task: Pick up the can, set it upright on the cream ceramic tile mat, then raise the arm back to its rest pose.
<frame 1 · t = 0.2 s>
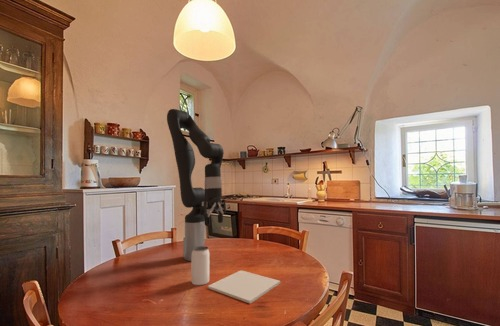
hand: (214, 224, 108), 17 cm above the table, tool pointing down, fingers open, 8 cm apart
tile mat: (244, 285, 86), on the table
can: (200, 282, 89), on the table
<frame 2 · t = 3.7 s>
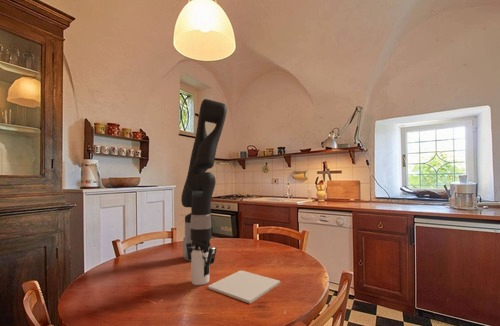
hand: (200, 273, 89), 3 cm above the table, tool pointing down, fingers closed on can, 4 cm apart
can: (200, 282, 89), on the table, touching gripper
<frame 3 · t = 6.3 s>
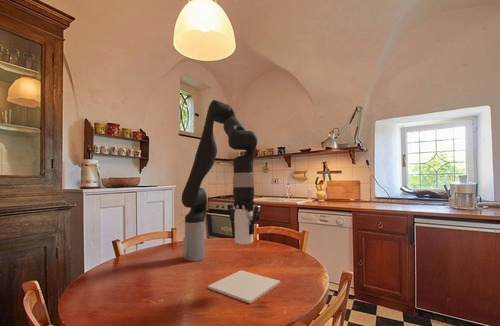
hand: (244, 234, 86), 18 cm above the table, tool pointing down, fingers closed on can, 5 cm apart
can: (244, 243, 86), point 15 cm above the table, touching gripper
when the fingers open (5 cm above the table, at t = 9.3 s): can moves 2 cm, resting on tile mat.
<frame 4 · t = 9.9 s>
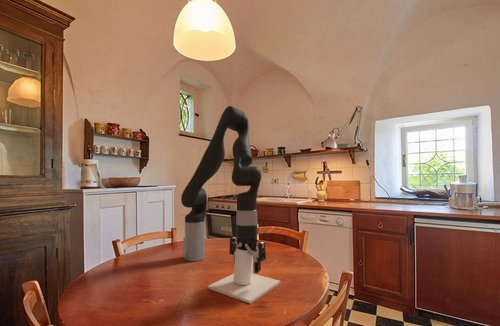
hand: (247, 270, 85), 6 cm above the table, tool pointing down, fingers open, 8 cm apart
can: (242, 281, 87), point 1 cm above the table, touching gripper, tile mat
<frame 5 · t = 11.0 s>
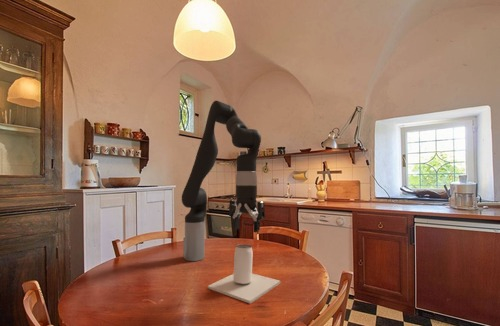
hand: (246, 230, 86), 19 cm above the table, tool pointing down, fingers open, 8 cm apart
can: (242, 281, 87), point 1 cm above the table, touching tile mat
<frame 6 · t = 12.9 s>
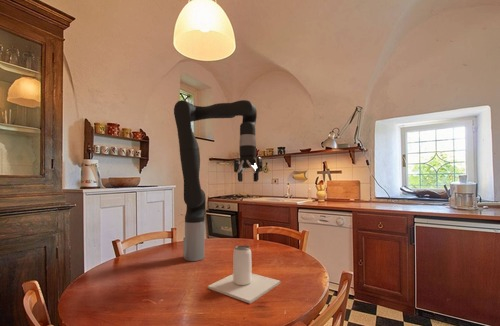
hand: (247, 181, 110), 36 cm above the table, tool pointing down, fingers open, 8 cm apart
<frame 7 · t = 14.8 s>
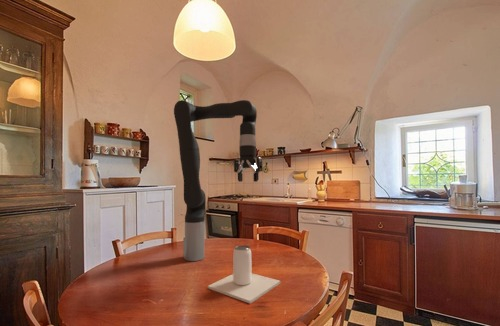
hand: (247, 181, 110), 36 cm above the table, tool pointing down, fingers open, 8 cm apart
nothing on the table moved.
at the end: can inside the target area on the tile mat (1.3 cm from its centre), point 0.6 cm above the tile mat's base; can tilted 0°; the gripper is holding nothing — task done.
